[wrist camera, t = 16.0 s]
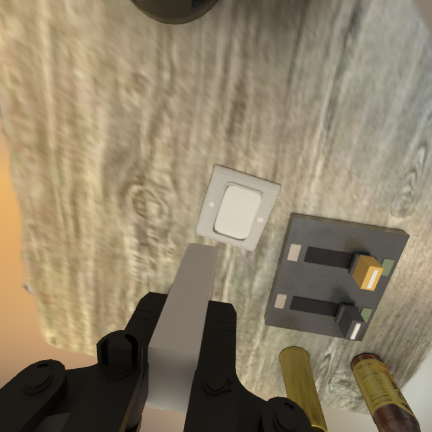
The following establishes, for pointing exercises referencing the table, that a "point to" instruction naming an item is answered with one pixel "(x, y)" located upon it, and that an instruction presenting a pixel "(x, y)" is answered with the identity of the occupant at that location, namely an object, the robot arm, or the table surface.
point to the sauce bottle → (383, 396)
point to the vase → (302, 385)
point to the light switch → (236, 208)
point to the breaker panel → (328, 273)
